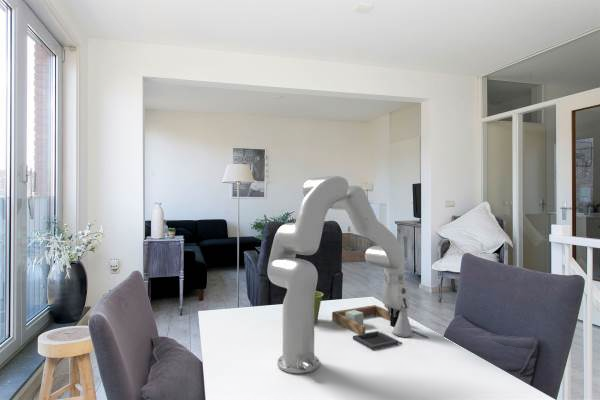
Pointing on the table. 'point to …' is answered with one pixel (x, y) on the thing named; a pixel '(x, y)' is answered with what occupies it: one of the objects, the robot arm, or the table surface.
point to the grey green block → (355, 316)
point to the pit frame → (375, 340)
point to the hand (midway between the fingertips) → (395, 325)
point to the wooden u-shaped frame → (367, 311)
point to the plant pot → (317, 304)
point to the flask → (403, 324)
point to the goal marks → (414, 332)
